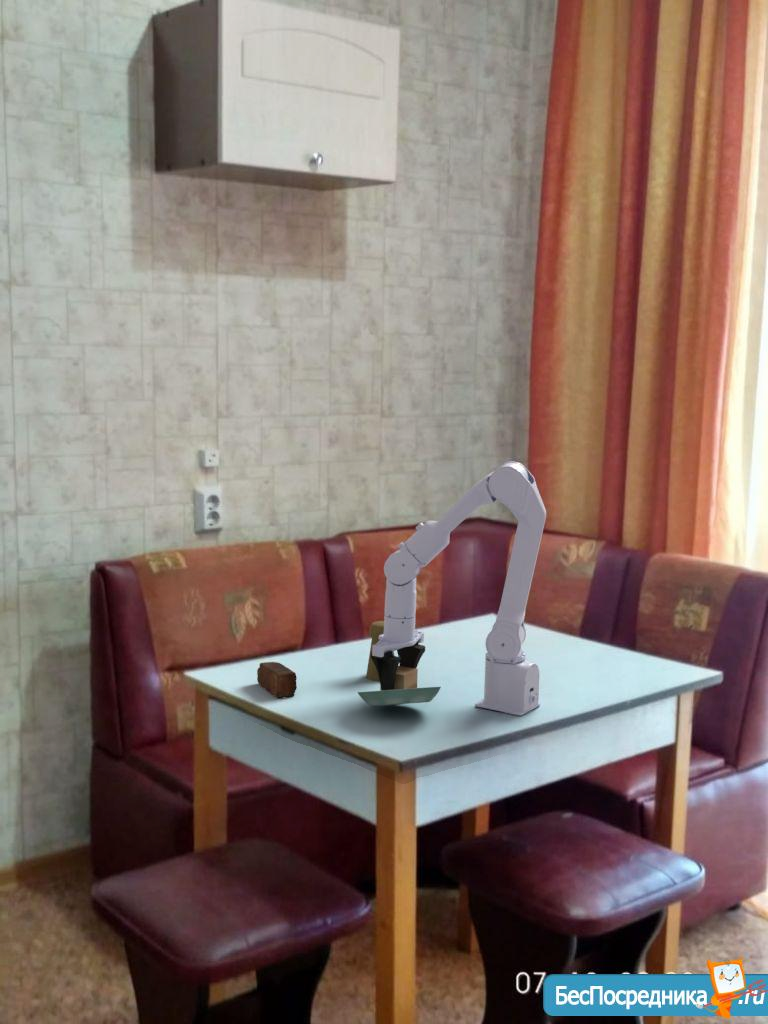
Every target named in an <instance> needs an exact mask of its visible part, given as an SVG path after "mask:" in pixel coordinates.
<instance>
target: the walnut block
mask: <svg viewBox="0 0 768 1024" xmlns="http://www.w3.org/2000/svg"><path fill="white" fill-rule="evenodd" d="M418 674H419V673H418V668H416V669H415V668H409V667H404V666H400V665H398V667H397V671H396V675H395V683H394V688H393V690H397V689H411V688H418ZM379 685H380V684H379ZM379 688H380V689H379V691H383V690H381V685H380V686H379Z"/></svg>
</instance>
